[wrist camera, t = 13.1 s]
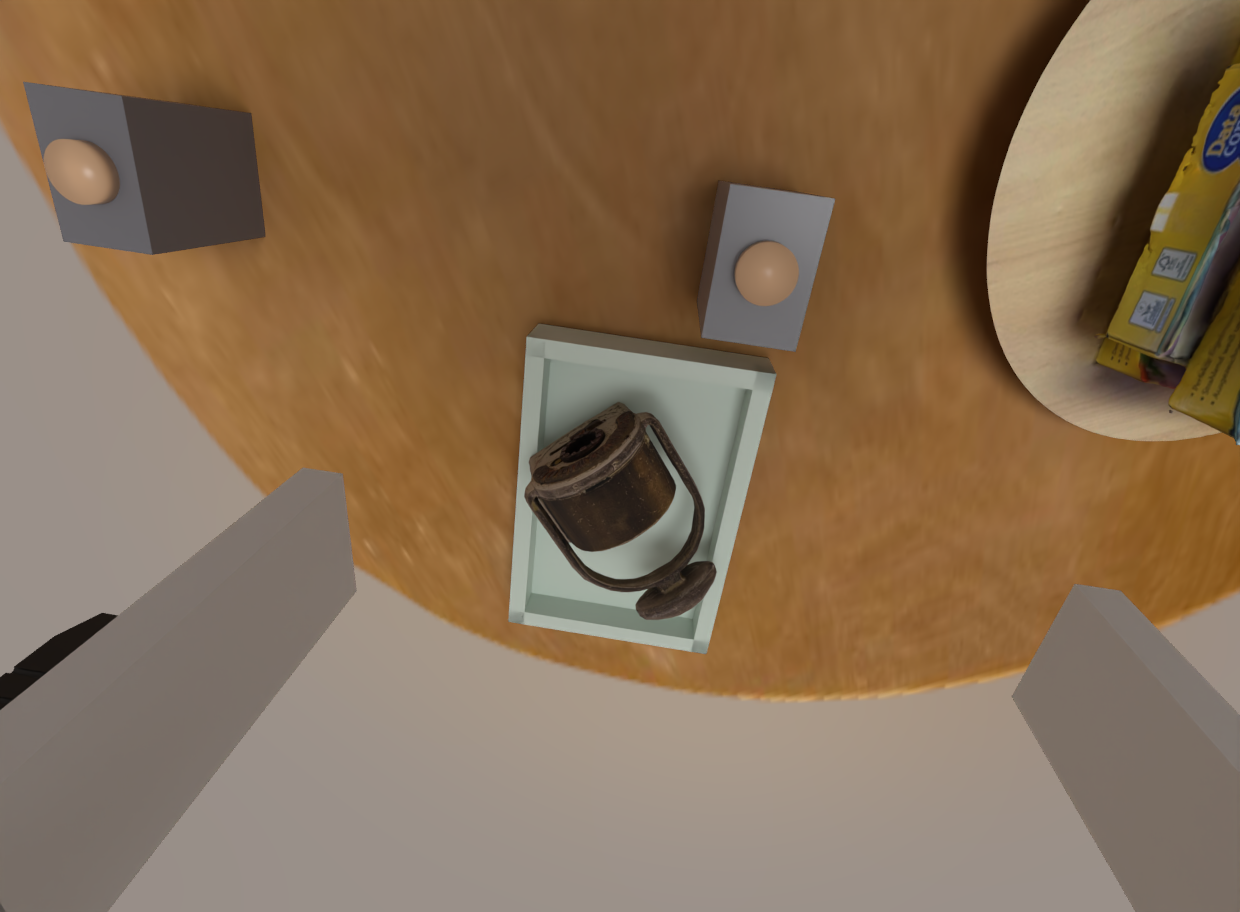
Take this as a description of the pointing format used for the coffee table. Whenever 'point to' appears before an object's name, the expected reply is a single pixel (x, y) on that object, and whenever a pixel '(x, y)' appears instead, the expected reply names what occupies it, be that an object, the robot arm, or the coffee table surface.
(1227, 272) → the plate of stacked boxes
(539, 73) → the coffee table surface
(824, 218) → the block
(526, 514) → the sage tray
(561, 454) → the brown alarm clock
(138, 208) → the far-side block
